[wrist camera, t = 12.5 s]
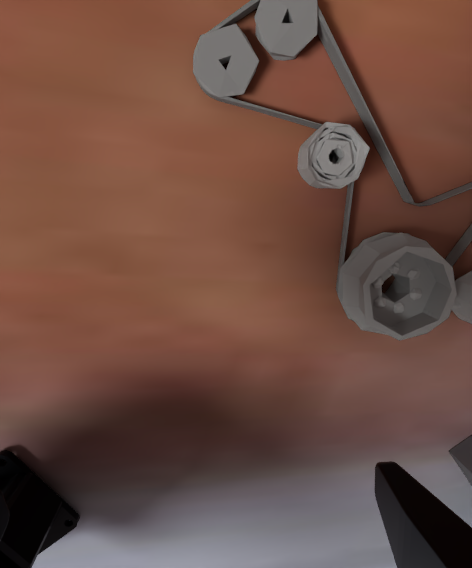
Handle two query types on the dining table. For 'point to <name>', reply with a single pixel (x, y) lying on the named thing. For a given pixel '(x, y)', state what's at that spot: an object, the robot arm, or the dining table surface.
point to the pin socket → (464, 457)
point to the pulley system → (343, 176)
